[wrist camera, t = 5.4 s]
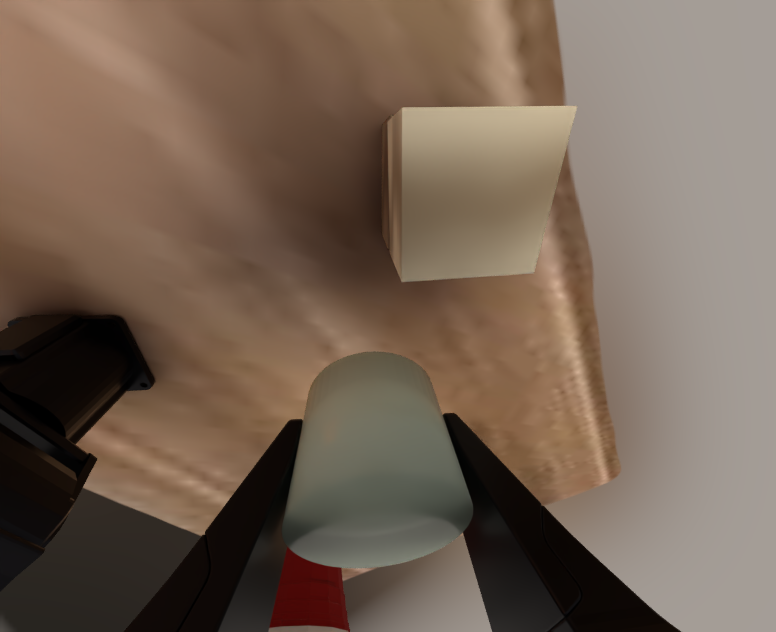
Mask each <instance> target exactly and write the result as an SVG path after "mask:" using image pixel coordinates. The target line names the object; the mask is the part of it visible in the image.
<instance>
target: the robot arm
mask: <svg viewBox="0 0 776 632" xmlns="http://www.w3.org/2000/svg"><path fill="white" fill-rule="evenodd" d="M112 322H113V323H115V324H113V323H112ZM153 385H154V380H153V378H152V376H151V374H150V372H149V370H148V368H147V366H146V364H145V362H144V360H143V358H142V356H141V354H140V352H139V351H138V349H137V347H136V345H135V343H134V341H133V339H132V337H131V335H130V333H129V331H128V329H127V327H126V325H125V323H124V321H123V320H122V319H121V318H119V317H117V316H79V315H74V314H70V315H33V316H30V317H22V318H16V319H13V320H11V321H9V322H8V328H6V329H4V330H2V331H0V591H1V590H2V589H3V588H4V587H5V586H6V585H7V584H9V583H10V581H11V580H13V579H14V578H15V577H16V576H17V575H18V574H20V573H21V572H22V571H23V570H24V569H26V568H27V567H28V566H29V565H30V564H31V563H33V562H34V561H35V560H36V559H37V558H38V557H40V556H41V555H42V554H43V553H44V551H45V548H44V547H45V546H46V545H47V544H48V543H49V542H50V541H51V540H52V539H53V537H54V536H55V535H56V534H57V532H58V531H59V530H60V528H61V527H62V525H63V523H64V522H65V520H66V518H67V516H68V514H69V512H70V511H71V509H72V508H73V505H74V503H75V501H76V499H77V497H78V495H79V493H80V491H81V489H82V488H83V486H84V484H85V482H86V480H87V478H88V476H89V474H90V472H91V470H92V468H93V466H94V465H95V463H96V461H97V458H96V457H95V456H94V455H92V454H91V453H88V454H87V453H86V452H85V451H83V450H82V449H81V448H79V447H78V446H76V445H75V444H76V443H77V442H78V441H79V440H80V439H81V438H82V437H83V436H84V435H85V434H86V433H87V432H88V431H89V430H90V429H91V428H92V427H93V426H94V425H95V424H96V422H97V421H98V420H99V419H100V418H101V417H102V416H103V415H104V414H105V413H106V412H107V411H108V410H109V409H110V408H111V407H112V406H113V405H114V404H115V403H116V402H117V401H118V400H119V399H120V398H121V397H122V395H123V394H124V393H125V392H126V391H133V390H148V389H150V388H151V387H152V386H153ZM443 418H444V421H445V423H446V426H447V429H448V432H449V435H450V438H451V441H452V444H453V447H454V450H455V453H456V456H457V459H458V462H459V465H460V468H461V471H462V474H463V477H464V480H465V483H466V486H467V489H468V491H469V494H470V497H471V500H472V504H473V516H472V519H471V521H470V523H469V525H468V526H467V528H466V529H465V530H464V532H463V534H464V537H465V541H466V545H467V548H468V551H469V555H470V558H471V561H472V565H473V568H474V571H475V575H476V578H477V581H478V585H479V588H480V592H481V594H482V598H483V602H484V605H485V609H486V612H487V615H488V618H489V622H490V625H491V629H492V632H681V631H680V630H678V629H677V628H675V627H674V626H673V625H671V624H670V623H669V622H667V621H666V620H665V619H664V618H662V617H661V616H660V615H659V614H657V613H656V612H655V611H654V610H653V609H652V608H650V607H649V606H648V605H647V604H646V603H645V602H644V601H643V600H641V599H640V598H639V597H638V596H637V595H636V594H635V593H634V592H633V591H632V590H631V589H630V588H628V587H627V586H626V585H625V584H624V583H623V582H622V581H621V580H620V579H619V578H618V577H616V576H615V575H614V574H613V573H612V572H611V571H610V570H609V569H608V568H607V567H606V566H604V565H603V564H602V563H601V562H600V561H599V560H598V559H597V558H596V557H595V556H593V554H591V553H590V552H589V551H588V550H587V549H586V548H585V547H584V546H583V545H582V544H581V543H580V542H579V541H578V540H577V539H576V538H575V537H573V536H572V535H571V534H570V533H569V532H568V531H567V529H565V528H564V526H563V525H562V524H561V523H560V522H559V521H558V520H557V519H556V518H555V517H554V516H553V515H552V514H551V513H550V512H549V511H548V510H547V509H546V508H545V507H544V506H541V503H540V502H539V501H538V500H537V499H536V497H535V496H534V495H533V494H532V493H531V492H530V491H529V490H528V489H527V488H526V487H525V486H524V485H523V484H522V483H521V482H520V481H519V480H518V479H517V478H516V476H515V475H514V474H513V473H512V472H511V471H510V470H509V469H508V468H507V467H506V466H505V465H504V464H503V463H502V462H501V461H500V460H499V459H498V458H497V457H496V455H495V454H494V453H493V452H492V451H491V450H490V449H489V448H488V447H487V446H486V445H485V444H484V443H483V442H482V441H481V440H480V439H479V438H478V437H477V436H476V434H475V433H474V432H473V431H472V430H471V429H470V428H469V427H468V426H467V425H466V424H465V423H464V422H463V421H462V420H461V419H460V418H459V417H458V416H457V415H456V414H455V413H445V414H443ZM302 424H303V420H302V419H292V420H289V421H288V422H287V424H286V425H285V426H284V428H283V429H282V430H281V432H280V433H279V434H278V436H277V437H276V438H275V440H274V441H273V442H272V444H271V445H270V446H269V448H268V449H267V450H266V452H265V453H264V454H263V456H262V457H261V458H260V460H259V461H258V462H257V464H256V465H255V466H254V468H253V469H252V470H251V472H250V473H249V474H248V476H247V477H246V478H245V479H244V481H243V482H242V483H241V485H240V486H239V487H238V489H237V490H236V491H235V493H234V494H233V495H232V497H231V498H230V499H229V501H228V502H227V503H226V505H225V506H224V507H223V509H222V510H221V511H220V513H219V514H218V515H217V517H216V518H215V519H214V521H213V522H212V523H211V525H210V526H209V527H208V529H207V530H206V531H205V535H202V536H201V538H200V539H199V540H198V542H197V543H196V544H195V546H194V547H193V548H192V550H191V551H190V552H189V554H188V555H187V556H186V557H185V559H184V560H183V561H182V563H181V564H180V565H179V566H178V568H177V569H176V570H175V571H174V573H173V574H172V575H171V577H170V578H169V579H168V580H167V581H166V583H165V584H164V585H163V586H162V587H161V588H160V590H159V591H158V592H157V593H156V594H155V596H154V597H153V598H152V599H151V601H149V603H148V604H147V605H146V606H145V607H144V609H143V610H142V611H141V612H140V613H139V614H138V615H137V617H136V618H135V619H134V620H133V621H132V622H131V624H130V625H129V626H128V627H127V628H126V629H125V630H124V632H268V631H269V626H270V622H271V617H272V613H273V608H274V604H275V600H276V595H277V591H278V586H279V582H280V577H281V573H282V568H283V564H284V559H285V555H286V550H287V545H286V544H285V542H284V540H283V537H282V524H283V519H284V514H285V509H286V504H287V499H288V494H289V489H290V484H291V479H292V474H293V469H294V464H295V459H296V454H297V449H298V444H299V439H300V434H301V429H302Z"/></svg>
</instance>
